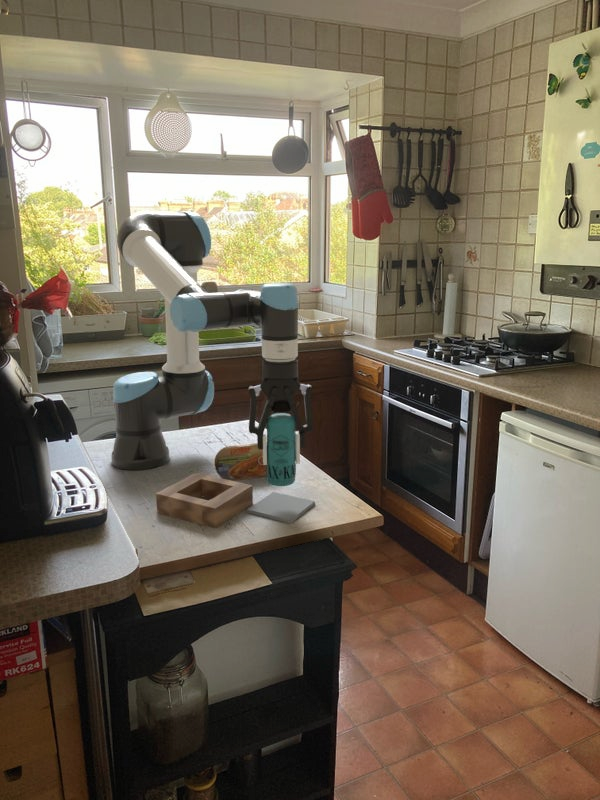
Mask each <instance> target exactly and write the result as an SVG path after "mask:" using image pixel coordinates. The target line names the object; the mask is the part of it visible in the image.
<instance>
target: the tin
mask: <svg viewBox="0 0 600 800" xmlns="http://www.w3.org/2000/svg"><path fill="white" fill-rule="evenodd" d="M214 469H215V471H216V474H218V476H219V478H222V479H226V480H231V481H236V480H243V479H244V480H245V479H251V478H253V479H254V478H261V477H264V476H267V475H266V474H267V465H263V449H258V446H257V442H256V443H246V444H239V445H238V444H237V445H227V446H225V447H223V448H221V449H220V450H219V451H218V452H217V453H216V455H215V457H214Z"/></svg>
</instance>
